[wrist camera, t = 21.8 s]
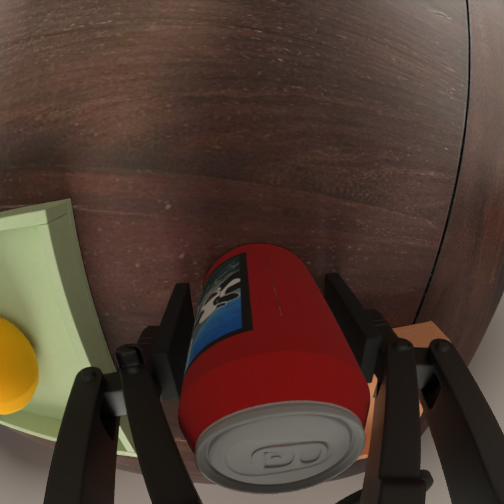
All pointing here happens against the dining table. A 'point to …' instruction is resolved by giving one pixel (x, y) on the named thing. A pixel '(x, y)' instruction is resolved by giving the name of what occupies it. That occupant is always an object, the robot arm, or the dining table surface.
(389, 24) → the dining table surface
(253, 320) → the beverage can
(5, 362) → the orange
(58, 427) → the fruit tray
